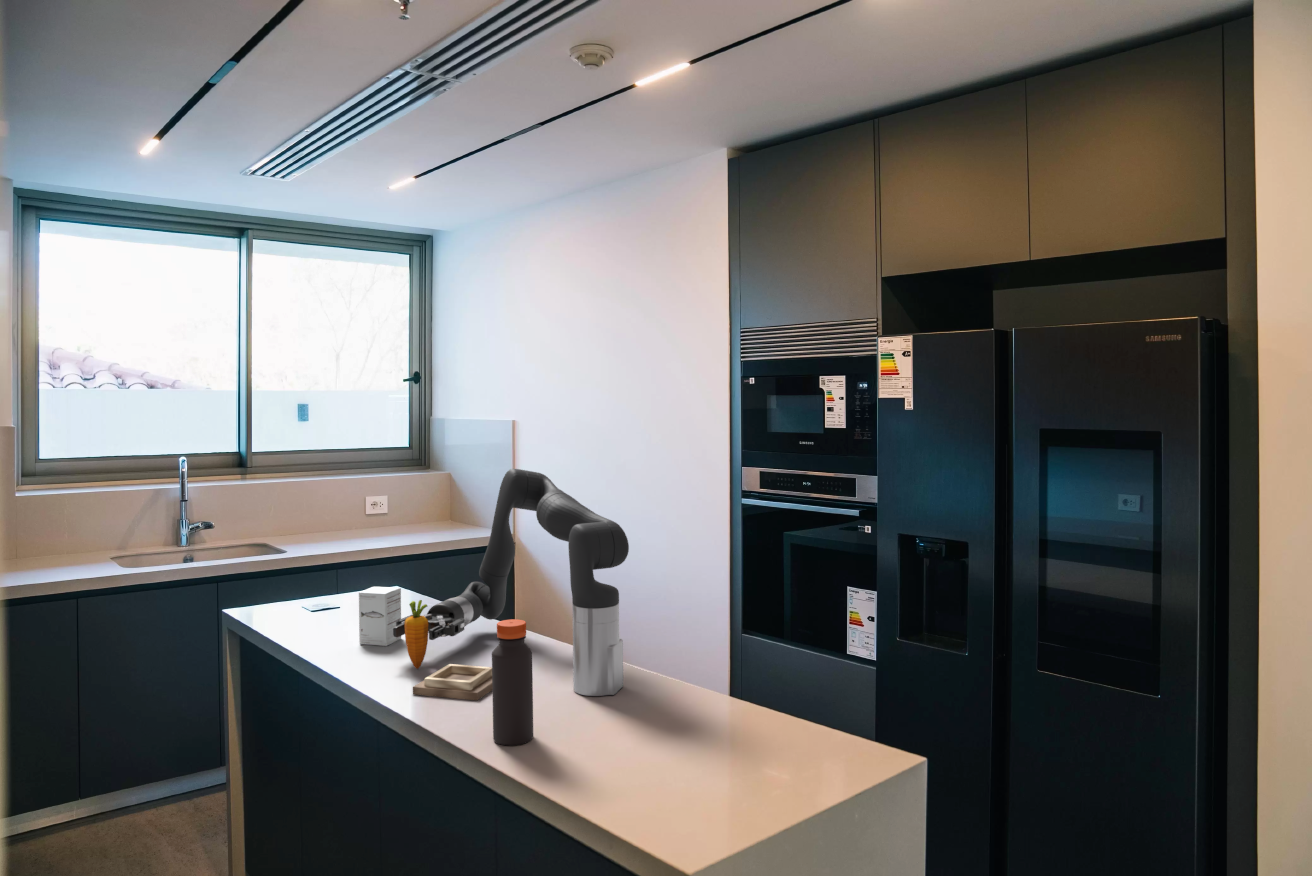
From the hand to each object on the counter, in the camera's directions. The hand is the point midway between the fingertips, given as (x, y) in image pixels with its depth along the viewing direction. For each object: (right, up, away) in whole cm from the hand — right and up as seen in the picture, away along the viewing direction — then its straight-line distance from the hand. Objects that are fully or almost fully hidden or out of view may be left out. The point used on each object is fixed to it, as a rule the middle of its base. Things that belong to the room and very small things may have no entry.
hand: (412, 633), depth 191 cm
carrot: (+1, -8, +2) cm, 8 cm away
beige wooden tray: (+12, -8, -11) cm, 19 cm away
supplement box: (-14, -7, +24) cm, 29 cm away
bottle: (+27, -10, -38) cm, 48 cm away
